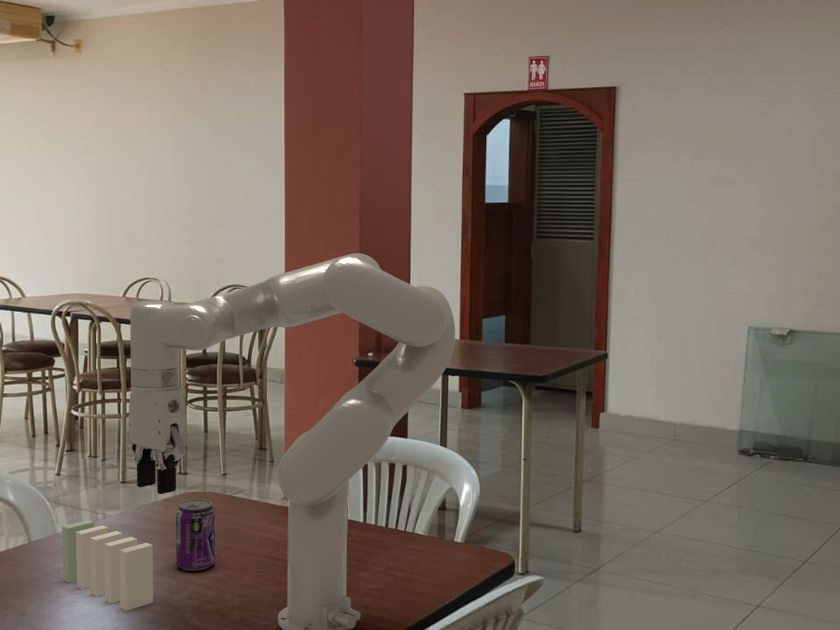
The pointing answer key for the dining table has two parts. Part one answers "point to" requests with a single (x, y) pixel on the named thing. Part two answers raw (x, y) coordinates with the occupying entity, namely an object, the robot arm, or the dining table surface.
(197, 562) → the beverage can
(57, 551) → the dining table surface
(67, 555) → the tile
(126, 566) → the tile
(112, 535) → the tile
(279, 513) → the dining table surface
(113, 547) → the tile
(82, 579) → the tile
